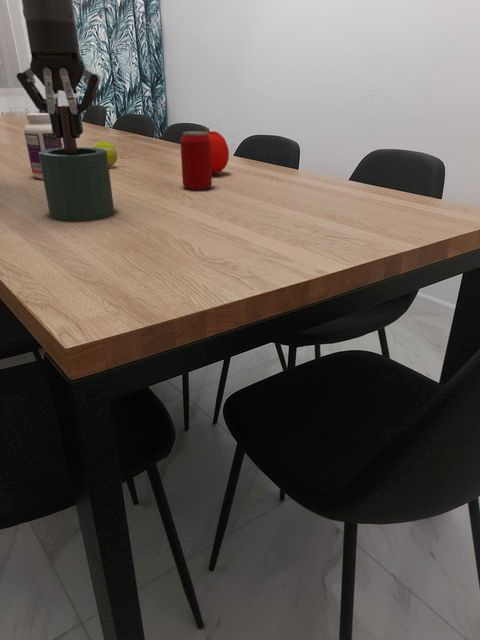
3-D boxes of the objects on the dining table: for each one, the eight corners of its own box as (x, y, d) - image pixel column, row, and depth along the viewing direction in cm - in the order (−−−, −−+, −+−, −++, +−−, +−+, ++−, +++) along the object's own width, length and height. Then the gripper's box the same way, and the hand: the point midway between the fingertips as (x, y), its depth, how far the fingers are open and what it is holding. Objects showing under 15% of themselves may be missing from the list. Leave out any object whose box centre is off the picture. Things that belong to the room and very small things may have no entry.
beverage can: (210, 184, 121) (209, 130, 115) (213, 190, 115) (211, 134, 109) (182, 185, 120) (179, 130, 114) (183, 191, 114) (180, 133, 108)
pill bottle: (68, 173, 130) (58, 112, 123) (66, 179, 123) (56, 115, 116) (35, 174, 128) (22, 112, 121) (31, 180, 121) (18, 115, 114)
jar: (42, 221, 89) (29, 156, 84) (59, 206, 99) (49, 147, 94) (107, 221, 90) (99, 156, 85) (118, 206, 100) (111, 147, 95)
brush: (61, 204, 91) (45, 106, 83) (68, 198, 95) (53, 104, 87) (89, 204, 91) (75, 107, 83) (94, 198, 95) (81, 105, 88)
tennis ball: (101, 170, 136) (97, 143, 132) (89, 166, 140) (85, 141, 137) (123, 167, 140) (120, 141, 136) (111, 164, 144) (108, 139, 141)
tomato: (223, 169, 140) (222, 126, 134) (234, 177, 130) (233, 130, 125) (180, 171, 136) (177, 126, 131) (188, 179, 127) (186, 131, 122)
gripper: (100, 23, 83) (112, 135, 92) (13, 20, 82) (34, 134, 90) (90, 19, 77) (105, 140, 85) (-4, 15, 75) (20, 139, 84)
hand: (68, 137), depth 88 cm, fingers closed on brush
